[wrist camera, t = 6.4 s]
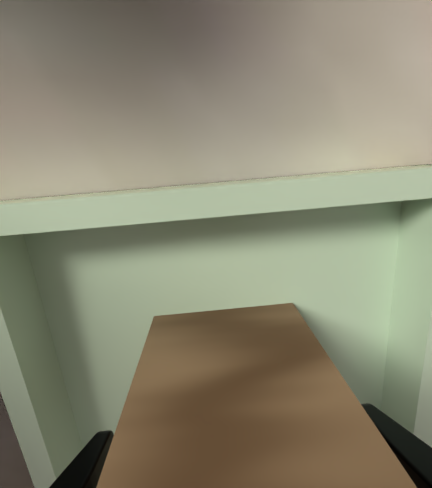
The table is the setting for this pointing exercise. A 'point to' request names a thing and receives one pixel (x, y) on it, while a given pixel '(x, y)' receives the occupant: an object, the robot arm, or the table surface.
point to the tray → (210, 290)
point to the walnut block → (244, 410)
